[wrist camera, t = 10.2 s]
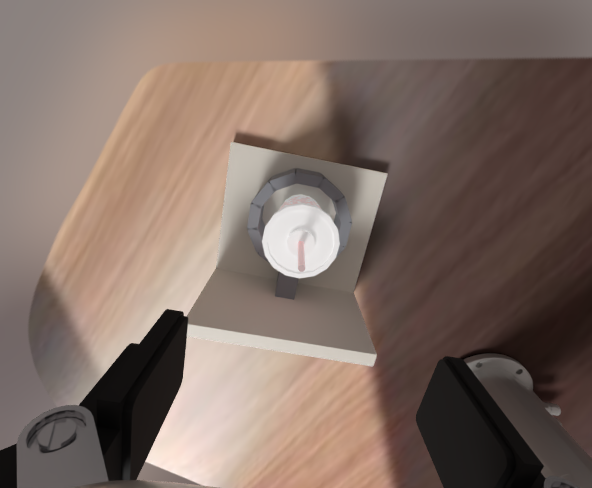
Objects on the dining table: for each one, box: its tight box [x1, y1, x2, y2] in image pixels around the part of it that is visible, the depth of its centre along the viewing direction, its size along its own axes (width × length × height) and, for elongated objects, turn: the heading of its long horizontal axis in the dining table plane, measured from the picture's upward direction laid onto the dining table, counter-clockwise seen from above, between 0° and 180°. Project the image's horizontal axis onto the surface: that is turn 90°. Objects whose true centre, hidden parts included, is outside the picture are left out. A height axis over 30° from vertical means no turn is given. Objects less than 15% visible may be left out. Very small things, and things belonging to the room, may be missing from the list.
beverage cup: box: [262, 195, 340, 278], centre depth 26 cm, size 6×6×14 cm
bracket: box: [187, 142, 387, 366], centre depth 29 cm, size 16×15×12 cm
